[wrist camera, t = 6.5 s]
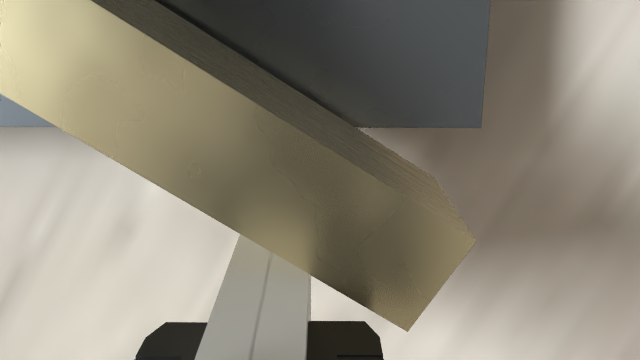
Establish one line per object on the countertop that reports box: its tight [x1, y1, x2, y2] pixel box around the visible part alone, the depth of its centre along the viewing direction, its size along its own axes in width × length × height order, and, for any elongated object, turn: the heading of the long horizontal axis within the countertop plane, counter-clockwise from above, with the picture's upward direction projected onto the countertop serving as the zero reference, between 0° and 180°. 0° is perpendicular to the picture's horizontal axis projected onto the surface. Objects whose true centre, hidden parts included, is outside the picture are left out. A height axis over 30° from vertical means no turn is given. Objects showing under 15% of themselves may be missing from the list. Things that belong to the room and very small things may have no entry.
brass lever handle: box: [0, 0, 476, 332], centre depth 11 cm, size 13×4×4 cm, turn 58°
